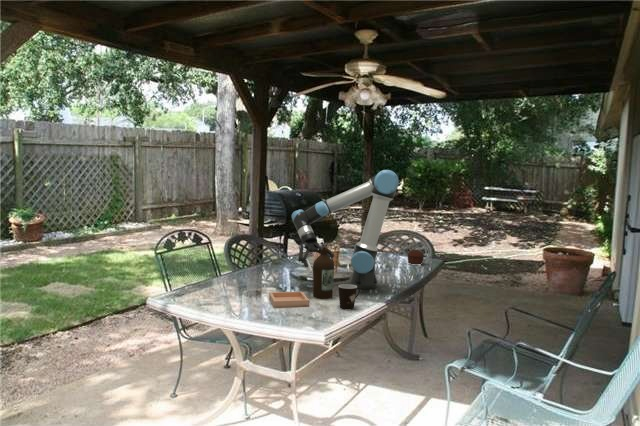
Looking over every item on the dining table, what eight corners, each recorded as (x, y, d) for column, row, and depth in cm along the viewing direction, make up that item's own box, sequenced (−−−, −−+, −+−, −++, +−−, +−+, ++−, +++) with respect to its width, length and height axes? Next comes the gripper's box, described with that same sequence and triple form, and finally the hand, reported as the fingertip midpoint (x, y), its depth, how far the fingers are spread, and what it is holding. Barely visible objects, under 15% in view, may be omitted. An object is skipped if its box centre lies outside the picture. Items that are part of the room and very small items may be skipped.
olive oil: (307, 295, 250) (309, 245, 247) (325, 293, 255) (327, 244, 253) (319, 300, 241) (321, 249, 239) (337, 298, 247) (339, 247, 244)
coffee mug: (340, 310, 225) (341, 288, 224) (335, 305, 233) (335, 284, 232) (365, 309, 228) (366, 288, 227) (358, 304, 236) (359, 283, 235)
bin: (302, 297, 246) (302, 291, 245) (309, 306, 230) (309, 300, 230) (269, 298, 242) (269, 292, 242) (274, 307, 226) (274, 301, 226)
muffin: (403, 263, 345) (404, 248, 344) (416, 262, 349) (417, 248, 348) (413, 266, 334) (414, 251, 333) (427, 265, 339) (427, 251, 338)
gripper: (324, 239, 267) (339, 272, 256) (283, 242, 253) (297, 277, 242) (330, 230, 262) (346, 264, 251) (289, 233, 248) (303, 268, 237)
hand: (322, 270), depth 247 cm, fingers open, 13 cm apart
